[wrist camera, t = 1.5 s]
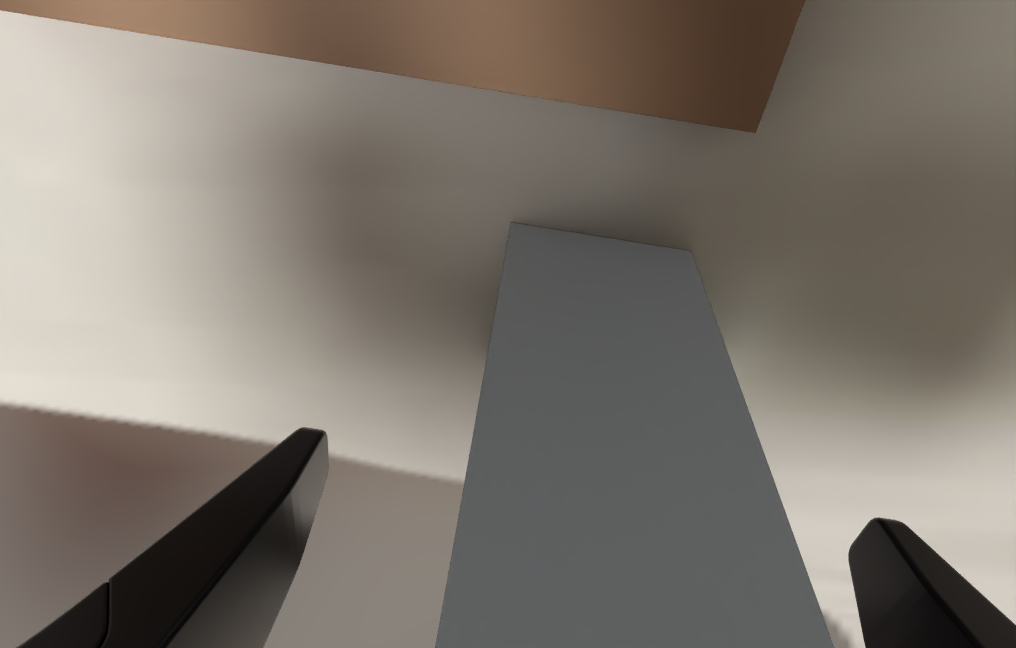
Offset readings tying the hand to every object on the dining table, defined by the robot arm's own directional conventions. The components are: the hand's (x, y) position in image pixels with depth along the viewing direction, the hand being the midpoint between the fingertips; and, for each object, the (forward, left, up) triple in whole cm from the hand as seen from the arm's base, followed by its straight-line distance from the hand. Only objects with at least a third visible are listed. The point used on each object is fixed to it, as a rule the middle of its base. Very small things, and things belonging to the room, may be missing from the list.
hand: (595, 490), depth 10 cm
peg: (0, 0, -5) cm, 5 cm away
